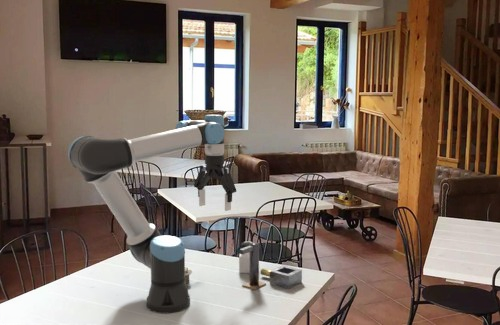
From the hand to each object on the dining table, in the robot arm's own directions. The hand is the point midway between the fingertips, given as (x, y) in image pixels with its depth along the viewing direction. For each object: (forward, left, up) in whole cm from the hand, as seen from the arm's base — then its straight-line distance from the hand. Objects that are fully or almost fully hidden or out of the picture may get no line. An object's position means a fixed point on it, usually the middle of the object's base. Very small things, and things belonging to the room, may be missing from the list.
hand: (214, 207), depth 200 cm
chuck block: (+13, -22, -29) cm, 38 cm away
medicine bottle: (+15, -5, -29) cm, 33 cm away
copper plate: (+3, -18, -29) cm, 34 cm away
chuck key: (0, -18, -28) cm, 33 cm away
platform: (-14, +6, -29) cm, 33 cm away
